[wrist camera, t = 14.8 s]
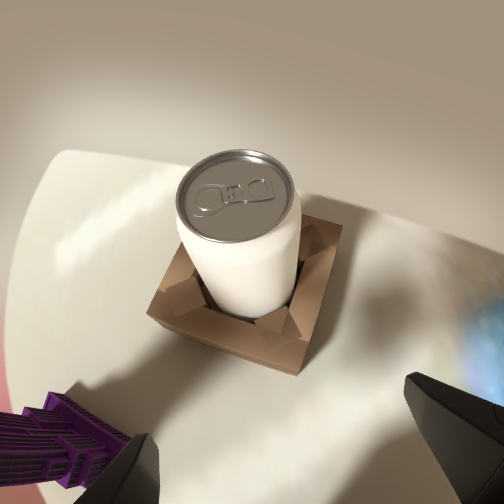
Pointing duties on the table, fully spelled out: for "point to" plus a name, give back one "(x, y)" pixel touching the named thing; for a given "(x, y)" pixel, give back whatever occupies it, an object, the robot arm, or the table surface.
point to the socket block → (265, 328)
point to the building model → (56, 444)
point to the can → (241, 230)
